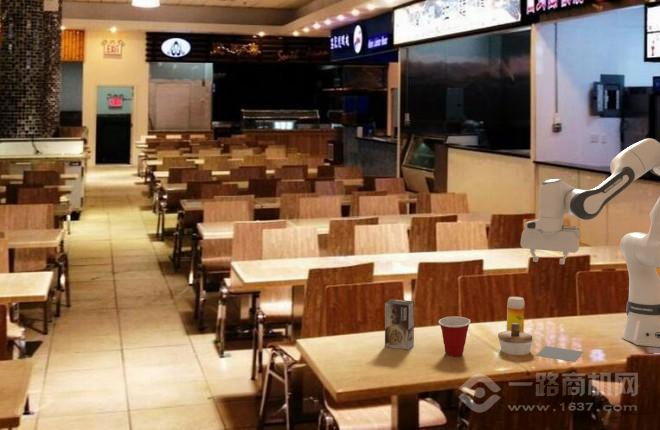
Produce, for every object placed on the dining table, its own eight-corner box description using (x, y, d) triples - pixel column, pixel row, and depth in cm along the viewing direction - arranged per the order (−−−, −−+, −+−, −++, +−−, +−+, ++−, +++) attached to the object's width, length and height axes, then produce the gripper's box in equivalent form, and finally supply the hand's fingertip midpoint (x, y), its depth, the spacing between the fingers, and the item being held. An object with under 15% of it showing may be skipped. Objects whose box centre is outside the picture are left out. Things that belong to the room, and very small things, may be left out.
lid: (535, 336, 267) (536, 322, 266) (527, 344, 257) (528, 330, 256) (503, 331, 272) (503, 318, 271) (493, 339, 262) (494, 325, 261)
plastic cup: (431, 353, 263) (431, 319, 262) (453, 347, 270) (453, 314, 268) (454, 361, 255) (455, 325, 253) (476, 355, 261) (477, 321, 260)
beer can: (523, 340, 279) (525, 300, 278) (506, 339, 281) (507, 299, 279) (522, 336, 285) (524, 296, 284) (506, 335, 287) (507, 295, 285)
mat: (583, 353, 265) (583, 351, 264) (574, 363, 253) (574, 361, 253) (545, 347, 271) (545, 345, 271) (535, 357, 260) (535, 355, 260)
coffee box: (414, 345, 272) (415, 301, 270) (408, 350, 267) (409, 304, 265) (390, 342, 276) (391, 298, 274) (383, 346, 270) (384, 302, 268)
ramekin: (494, 354, 263) (494, 339, 262) (504, 346, 273) (505, 331, 272) (526, 359, 257) (527, 344, 257) (535, 351, 267) (536, 336, 266)
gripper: (582, 225, 271) (580, 264, 272) (524, 221, 281) (523, 258, 283) (578, 227, 265) (576, 267, 267) (519, 223, 276) (518, 261, 277)
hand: (548, 262), depth 275 cm, fingers open, 8 cm apart
